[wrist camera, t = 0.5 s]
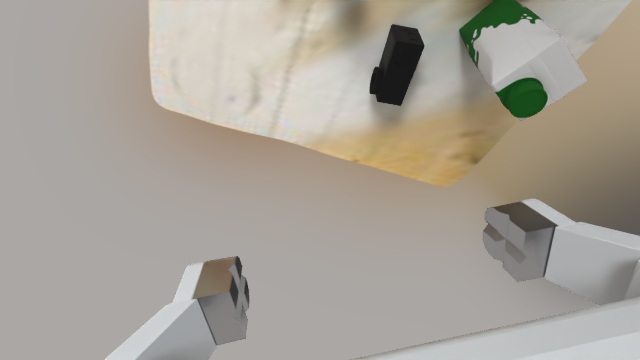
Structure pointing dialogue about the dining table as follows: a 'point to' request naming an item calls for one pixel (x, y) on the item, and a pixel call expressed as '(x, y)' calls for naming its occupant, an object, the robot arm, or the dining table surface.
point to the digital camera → (397, 65)
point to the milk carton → (521, 57)
